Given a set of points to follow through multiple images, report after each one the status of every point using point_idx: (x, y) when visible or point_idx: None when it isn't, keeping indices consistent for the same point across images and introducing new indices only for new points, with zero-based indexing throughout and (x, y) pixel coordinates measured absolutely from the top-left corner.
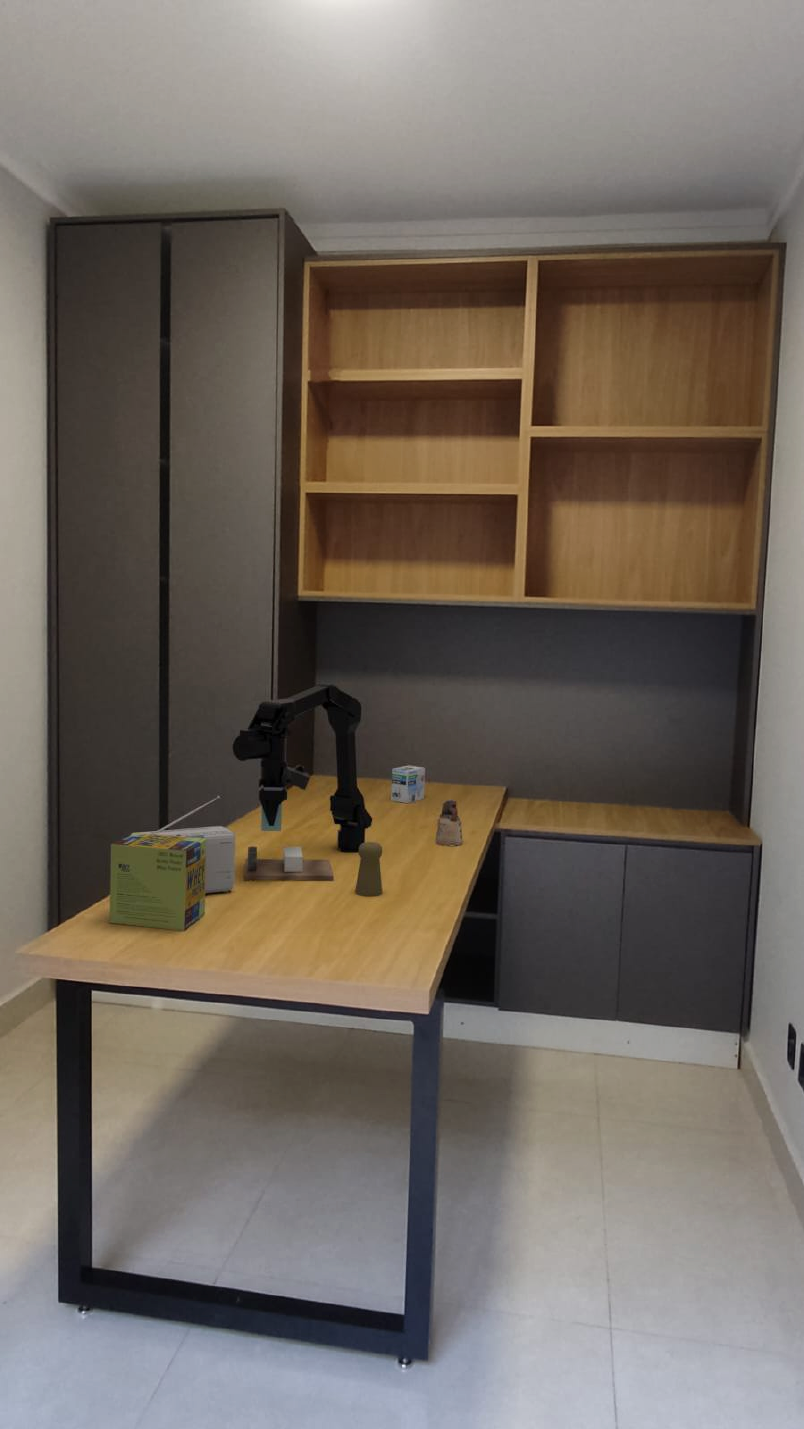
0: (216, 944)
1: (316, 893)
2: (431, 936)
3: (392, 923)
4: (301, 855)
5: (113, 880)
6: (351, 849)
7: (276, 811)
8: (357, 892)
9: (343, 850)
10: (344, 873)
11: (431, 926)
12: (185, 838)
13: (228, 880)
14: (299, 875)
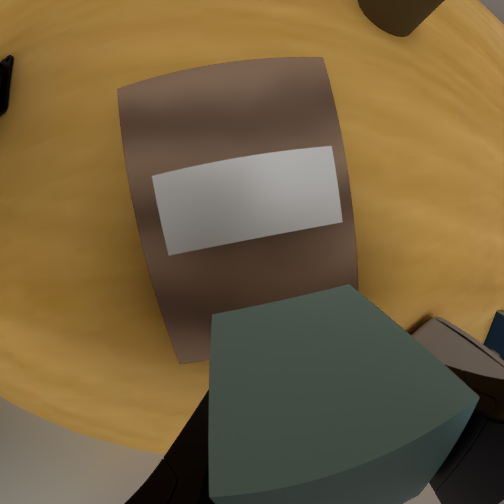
0: None
1: (426, 119)
2: (498, 24)
3: (490, 43)
4: (312, 151)
5: None
6: (4, 84)
7: (473, 377)
8: (408, 34)
9: (6, 101)
10: (226, 36)
11: (477, 7)
12: None
13: (452, 329)
14: (344, 160)
